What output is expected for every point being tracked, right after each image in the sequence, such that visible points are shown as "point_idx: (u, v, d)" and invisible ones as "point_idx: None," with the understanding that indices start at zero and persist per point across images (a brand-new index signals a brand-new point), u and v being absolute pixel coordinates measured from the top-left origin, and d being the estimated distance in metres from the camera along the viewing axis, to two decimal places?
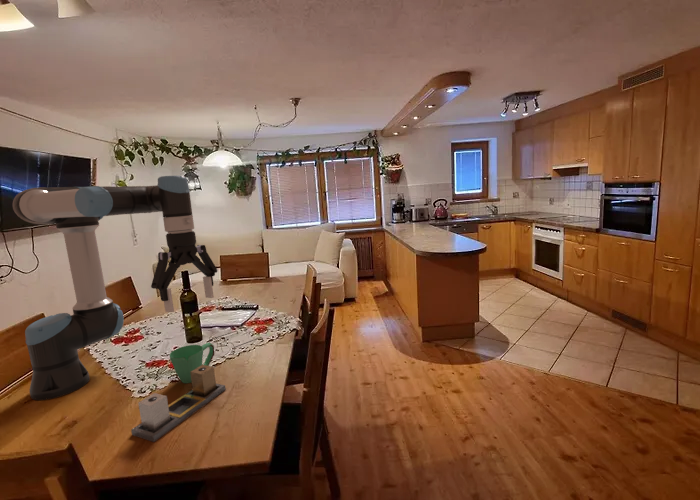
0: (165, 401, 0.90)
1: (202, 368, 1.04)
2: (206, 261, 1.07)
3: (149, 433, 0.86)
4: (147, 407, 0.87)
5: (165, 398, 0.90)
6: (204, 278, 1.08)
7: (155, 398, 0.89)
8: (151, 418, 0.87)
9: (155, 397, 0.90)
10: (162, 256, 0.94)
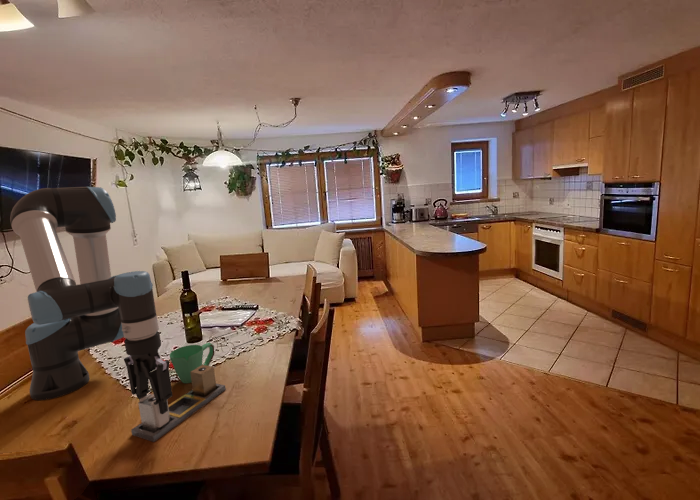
0: None
1: (202, 368, 1.04)
2: None
3: (149, 433, 0.86)
4: (147, 407, 0.87)
5: None
6: None
7: None
8: (151, 418, 0.87)
9: None
10: None
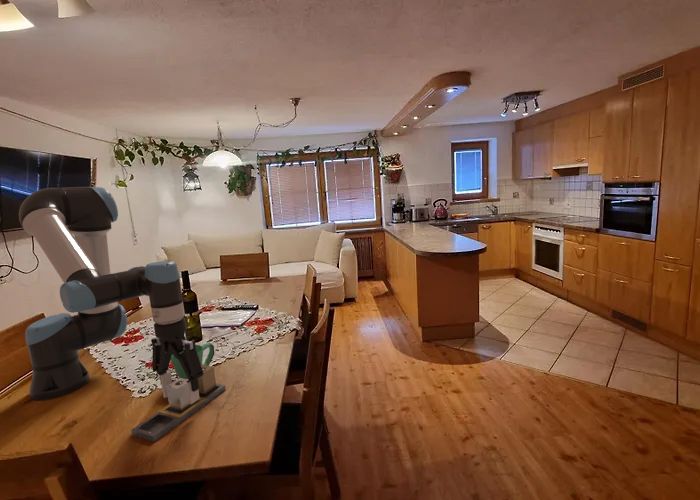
0: None
1: (202, 368, 1.04)
2: None
3: (149, 433, 0.86)
4: (175, 390, 0.94)
5: None
6: None
7: (181, 382, 0.96)
8: (178, 400, 0.94)
9: (181, 381, 0.97)
10: None
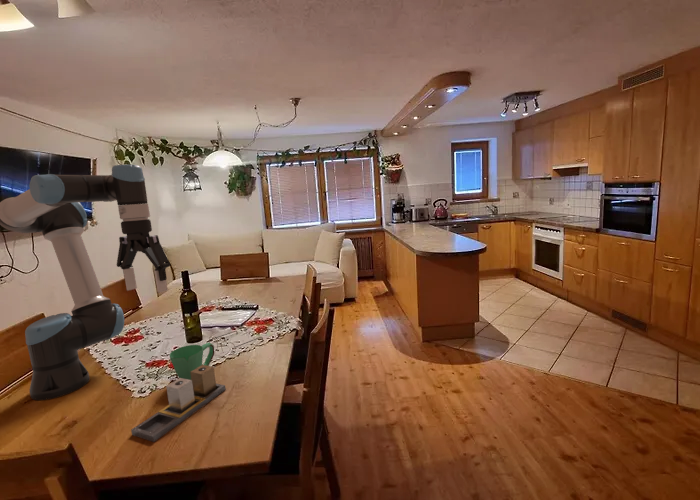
0: (190, 385, 0.97)
1: (202, 368, 1.04)
2: None
3: (149, 433, 0.86)
4: (175, 390, 0.94)
5: (190, 382, 0.97)
6: None
7: (181, 382, 0.96)
8: (178, 400, 0.94)
9: (181, 381, 0.97)
10: None
